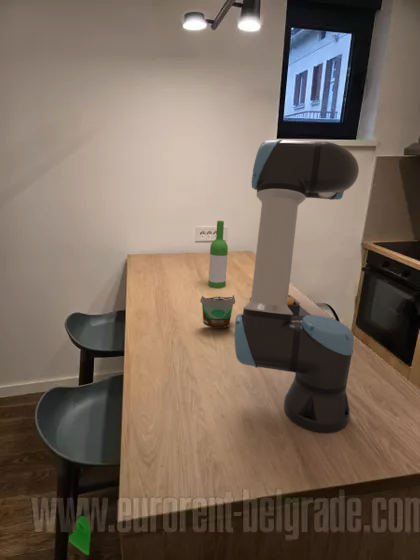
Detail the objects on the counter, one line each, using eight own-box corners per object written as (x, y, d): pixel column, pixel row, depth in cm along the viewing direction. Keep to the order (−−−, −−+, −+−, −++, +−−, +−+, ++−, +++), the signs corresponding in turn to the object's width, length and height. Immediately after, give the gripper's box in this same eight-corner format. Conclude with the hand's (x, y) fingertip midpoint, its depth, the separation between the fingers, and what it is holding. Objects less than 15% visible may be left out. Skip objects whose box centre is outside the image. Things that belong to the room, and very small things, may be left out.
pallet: (311, 319, 141) (313, 305, 139) (267, 320, 137) (269, 306, 135) (288, 300, 160) (289, 287, 159) (249, 301, 156) (250, 288, 155)
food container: (203, 330, 126) (204, 301, 123) (199, 323, 132) (200, 295, 129) (238, 328, 129) (240, 300, 126) (232, 321, 135) (234, 294, 132)
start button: (295, 308, 139) (296, 300, 138) (283, 308, 138) (284, 300, 137) (290, 304, 143) (291, 296, 143) (279, 304, 142) (280, 296, 142)
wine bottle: (228, 289, 170) (232, 222, 162) (211, 290, 167) (215, 222, 159) (221, 284, 177) (225, 219, 169) (205, 285, 174) (208, 219, 166)
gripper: (302, 213, 136) (294, 276, 143) (287, 209, 149) (281, 267, 155) (282, 212, 135) (275, 276, 141) (269, 208, 147) (263, 267, 154)
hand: (278, 272), depth 148 cm, fingers closed
